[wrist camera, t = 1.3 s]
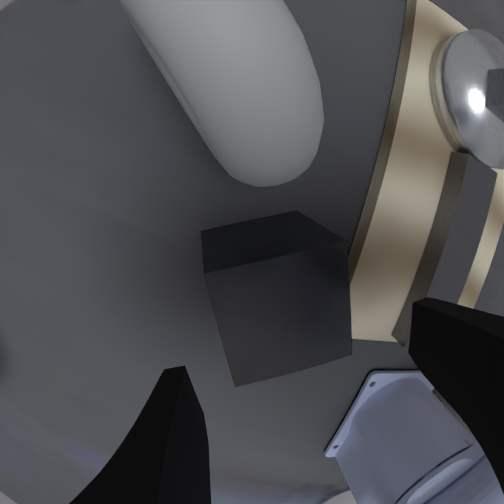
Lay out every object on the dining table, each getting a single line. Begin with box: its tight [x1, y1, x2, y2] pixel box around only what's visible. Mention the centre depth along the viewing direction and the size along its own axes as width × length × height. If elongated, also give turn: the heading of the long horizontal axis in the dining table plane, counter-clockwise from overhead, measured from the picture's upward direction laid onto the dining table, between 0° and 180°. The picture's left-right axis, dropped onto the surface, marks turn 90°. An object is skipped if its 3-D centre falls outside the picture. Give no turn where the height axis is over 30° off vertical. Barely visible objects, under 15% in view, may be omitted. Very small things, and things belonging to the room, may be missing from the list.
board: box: [348, 0, 504, 342], centre depth 17 cm, size 22×12×1 cm, turn 165°
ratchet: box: [391, 29, 504, 348], centre depth 15 cm, size 21×9×4 cm, turn 165°
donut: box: [120, 0, 324, 187], centre depth 9 cm, size 10×4×10 cm, turn 30°
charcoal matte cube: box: [201, 211, 352, 387], centre depth 14 cm, size 5×5×6 cm
